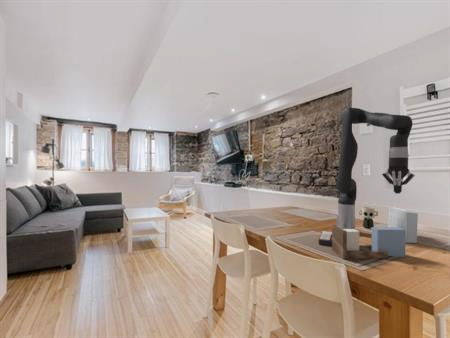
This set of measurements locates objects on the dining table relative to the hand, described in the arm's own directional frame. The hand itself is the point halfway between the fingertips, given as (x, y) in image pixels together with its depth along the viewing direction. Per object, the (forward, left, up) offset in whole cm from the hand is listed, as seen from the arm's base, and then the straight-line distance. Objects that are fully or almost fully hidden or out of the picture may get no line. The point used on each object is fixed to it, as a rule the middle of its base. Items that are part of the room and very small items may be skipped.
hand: (397, 193), depth 113 cm
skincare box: (-5, +26, -27) cm, 38 cm away
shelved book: (-12, -24, -27) cm, 38 cm away
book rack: (-9, -21, -27) cm, 35 cm away
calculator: (-26, -13, -28) cm, 40 cm away
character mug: (-26, +36, -27) cm, 52 cm away
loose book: (-1, -11, -27) cm, 29 cm away
